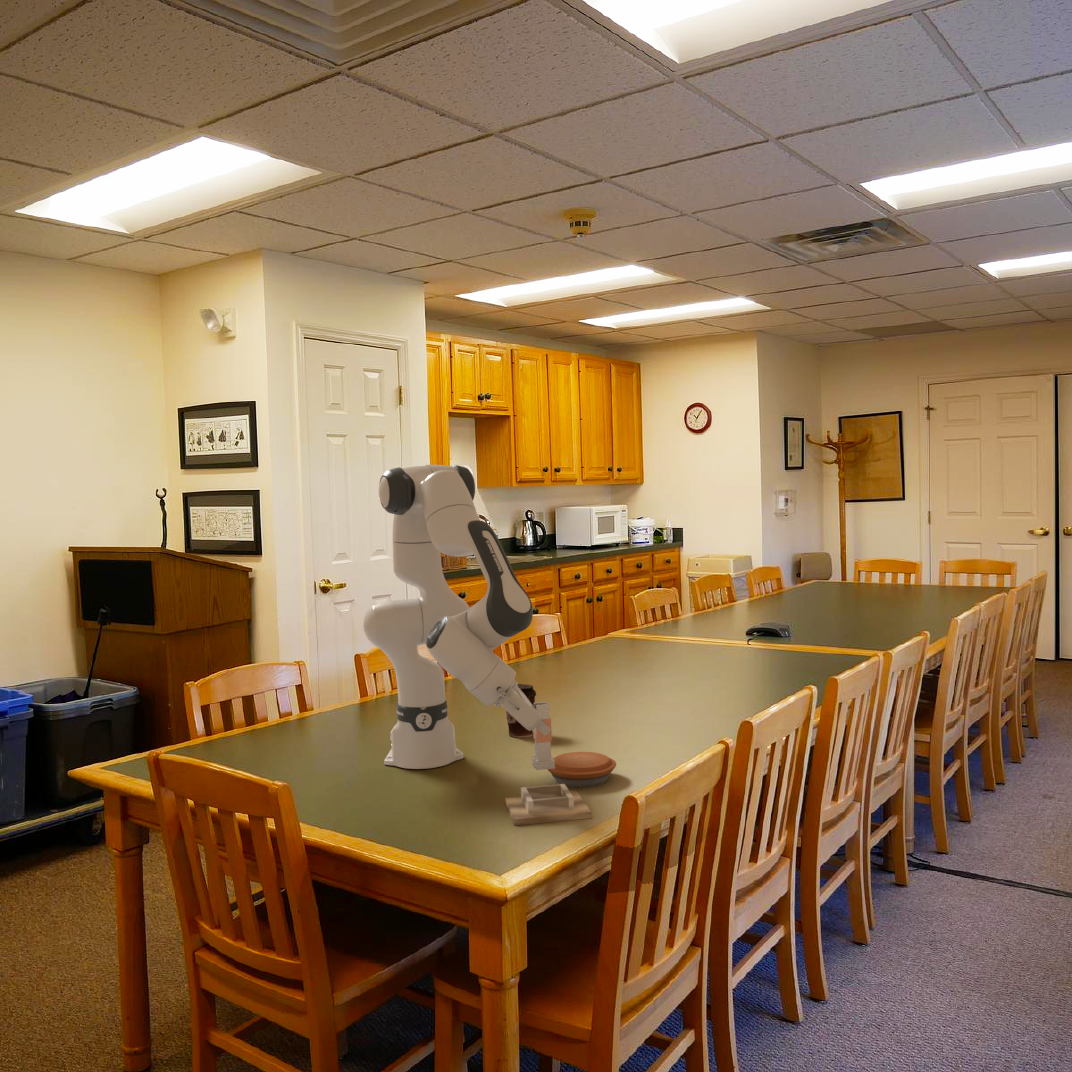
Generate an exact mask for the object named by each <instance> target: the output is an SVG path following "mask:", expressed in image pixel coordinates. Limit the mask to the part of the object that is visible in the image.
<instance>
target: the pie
mask: <svg viewBox="0 0 1072 1072" xmlns="http://www.w3.org/2000/svg"><path fill="white" fill-rule="evenodd" d="M552 758H553V759H554V761H555V769H546V770H547V772H550V774H551V775H552V777H553V779H554V780H555V782H556V783H557V784H565V785H566V787H567V788H568V787H569V788H591V787H597V786H600V785H603V784H604V783H606V782H607V781H608V779H609V777H610V775H611V773H612V772H613V771H614V770H615V768H616V766H617V762H616V760H614V759H613V758H611V757H608V756H607V755H605V754H604V753H599V752H593V751H591V752H590V751H573V752H566V753H562V754H558V755H556V756H554V757H552Z"/></svg>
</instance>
